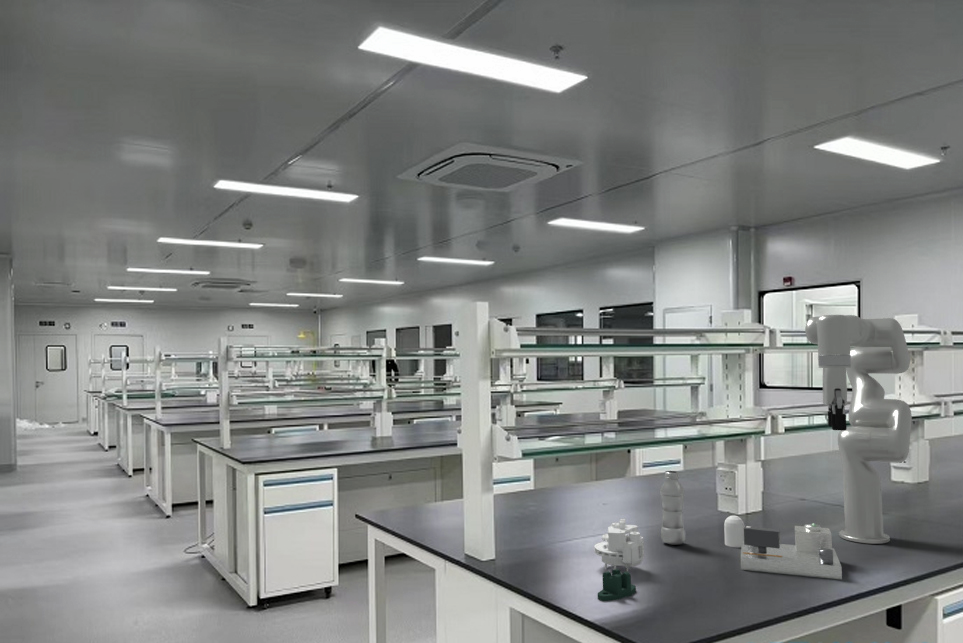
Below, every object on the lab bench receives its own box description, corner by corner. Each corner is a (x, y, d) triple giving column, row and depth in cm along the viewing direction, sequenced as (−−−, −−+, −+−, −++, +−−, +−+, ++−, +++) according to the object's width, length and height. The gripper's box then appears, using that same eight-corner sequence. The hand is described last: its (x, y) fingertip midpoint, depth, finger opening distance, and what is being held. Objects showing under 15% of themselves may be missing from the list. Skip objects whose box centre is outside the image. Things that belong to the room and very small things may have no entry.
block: (780, 553, 167) (779, 528, 167) (779, 556, 165) (778, 531, 165) (745, 549, 171) (745, 525, 171) (744, 551, 168) (743, 527, 169)
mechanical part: (608, 559, 175) (607, 513, 176) (651, 568, 167) (650, 519, 168) (585, 570, 166) (584, 521, 167) (630, 580, 159) (629, 529, 159)
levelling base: (742, 552, 180) (740, 515, 181) (834, 560, 172) (833, 521, 173) (740, 569, 166) (739, 529, 166) (841, 579, 157) (840, 537, 158)
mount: (607, 603, 144) (606, 580, 144) (592, 598, 148) (591, 574, 148) (641, 593, 150) (640, 570, 151) (626, 587, 154) (625, 565, 154)
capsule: (735, 541, 191) (734, 512, 191) (749, 546, 186) (748, 516, 187) (720, 543, 189) (719, 514, 190) (734, 548, 184) (733, 518, 185)
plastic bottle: (666, 539, 194) (665, 469, 195) (689, 543, 189) (687, 471, 190) (657, 544, 189) (655, 472, 190) (680, 548, 184) (678, 474, 185)
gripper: (815, 362, 185) (818, 424, 184) (821, 362, 169) (824, 431, 168) (846, 361, 183) (849, 425, 182) (855, 362, 167) (858, 432, 166)
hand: (837, 428), depth 175 cm, fingers open, 9 cm apart
